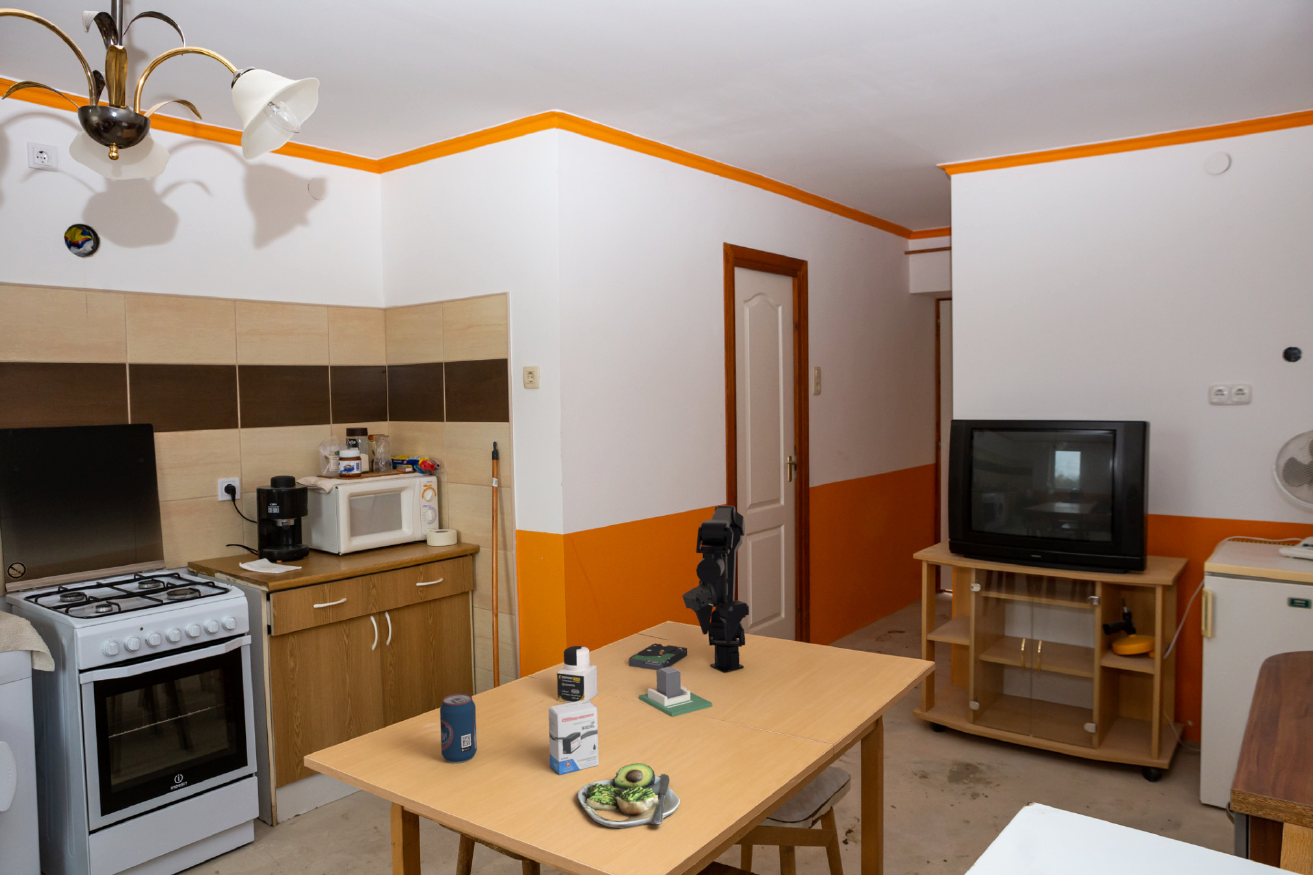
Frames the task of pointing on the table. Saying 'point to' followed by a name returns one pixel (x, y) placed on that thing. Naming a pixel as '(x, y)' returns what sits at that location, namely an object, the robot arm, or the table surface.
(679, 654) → the disk drive
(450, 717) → the soda can
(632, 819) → the avocado toast plate
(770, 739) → the table surface
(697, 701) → the board
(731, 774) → the table surface
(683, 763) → the table surface
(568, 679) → the medicine bottle
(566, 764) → the ink box
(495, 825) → the table surface
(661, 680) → the plug
